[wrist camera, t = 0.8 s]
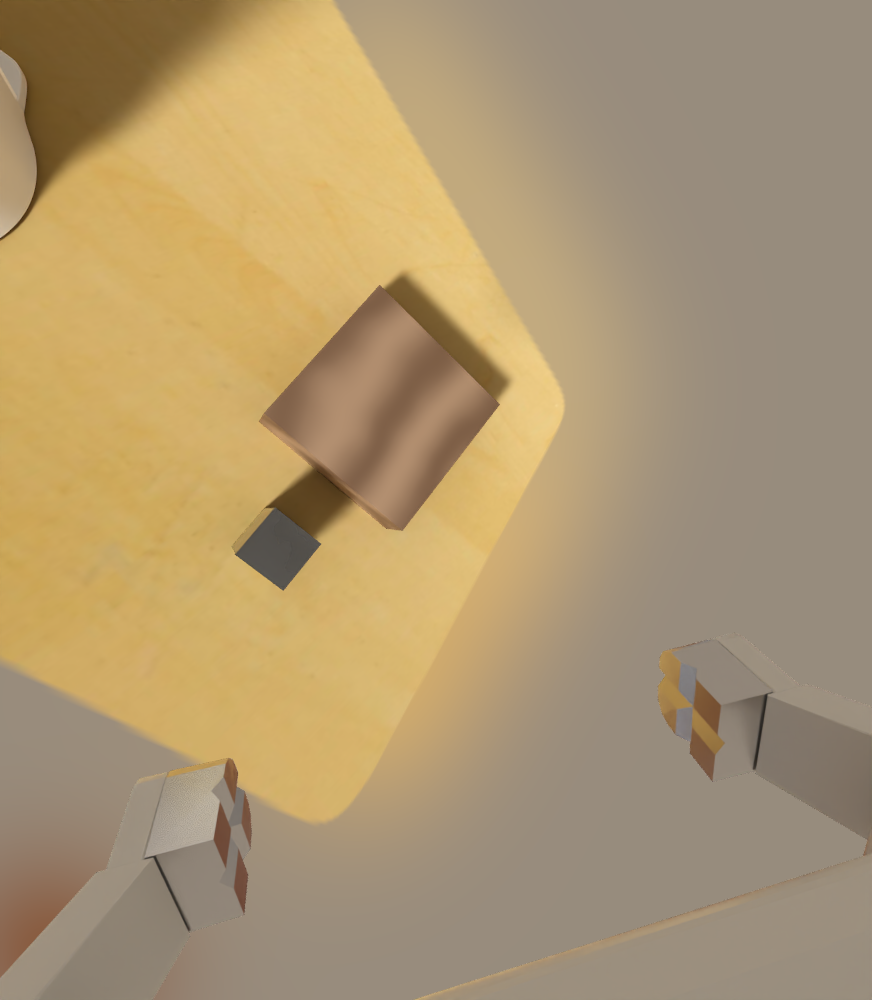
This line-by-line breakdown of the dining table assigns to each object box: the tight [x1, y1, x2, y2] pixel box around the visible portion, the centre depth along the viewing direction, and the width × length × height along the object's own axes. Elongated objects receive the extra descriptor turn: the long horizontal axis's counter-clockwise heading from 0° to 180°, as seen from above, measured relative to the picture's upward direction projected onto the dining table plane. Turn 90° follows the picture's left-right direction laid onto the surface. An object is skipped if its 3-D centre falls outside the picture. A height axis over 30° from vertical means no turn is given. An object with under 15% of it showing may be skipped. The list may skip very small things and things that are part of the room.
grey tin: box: [232, 507, 321, 590], centre depth 44 cm, size 4×4×8 cm
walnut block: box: [259, 285, 500, 530], centre depth 49 cm, size 14×14×5 cm
